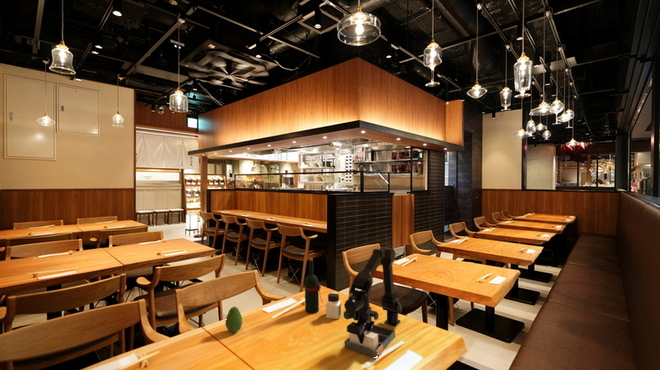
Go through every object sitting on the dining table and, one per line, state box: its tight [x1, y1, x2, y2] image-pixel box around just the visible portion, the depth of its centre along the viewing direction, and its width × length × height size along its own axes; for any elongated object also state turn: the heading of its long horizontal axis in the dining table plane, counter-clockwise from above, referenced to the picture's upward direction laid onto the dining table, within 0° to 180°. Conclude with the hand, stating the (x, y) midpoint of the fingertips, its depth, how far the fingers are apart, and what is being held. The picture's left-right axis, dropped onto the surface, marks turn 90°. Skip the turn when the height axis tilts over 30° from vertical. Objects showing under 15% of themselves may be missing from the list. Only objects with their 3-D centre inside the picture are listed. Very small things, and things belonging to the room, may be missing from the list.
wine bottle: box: [304, 257, 323, 315], centre depth 164 cm, size 8×10×30 cm
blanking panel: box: [348, 331, 378, 350], centre depth 125 cm, size 4×12×5 cm, turn 55°
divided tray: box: [343, 324, 396, 359], centre depth 130 cm, size 20×16×3 cm
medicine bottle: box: [325, 292, 342, 320], centre depth 157 cm, size 7×7×12 cm
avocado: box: [225, 306, 243, 333], centre depth 142 cm, size 8×8×12 cm
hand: (363, 341), depth 125 cm, fingers closed on blanking panel, 4 cm apart
